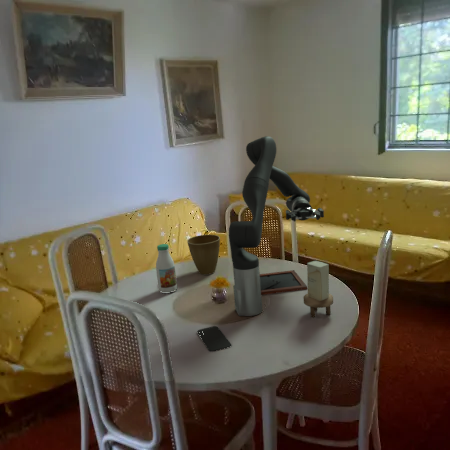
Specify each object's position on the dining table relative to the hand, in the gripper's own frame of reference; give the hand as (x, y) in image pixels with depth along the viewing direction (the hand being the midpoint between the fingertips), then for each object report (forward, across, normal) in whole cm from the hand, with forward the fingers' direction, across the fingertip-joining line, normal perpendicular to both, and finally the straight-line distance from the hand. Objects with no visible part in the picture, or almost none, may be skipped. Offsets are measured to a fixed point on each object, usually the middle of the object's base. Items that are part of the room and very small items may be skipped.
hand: (306, 218), depth 164 cm
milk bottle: (-11, -57, +30) cm, 66 cm away
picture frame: (-13, -14, +31) cm, 36 cm away
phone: (+32, -34, +31) cm, 56 cm away
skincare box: (+17, +1, +24) cm, 30 cm away
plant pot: (-32, -43, +30) cm, 62 cm away
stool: (+18, +1, +30) cm, 35 cm away
